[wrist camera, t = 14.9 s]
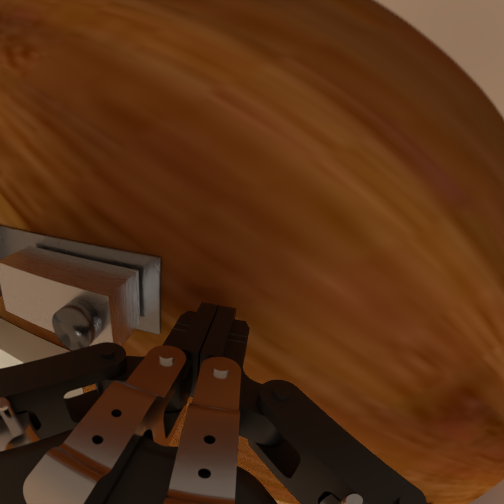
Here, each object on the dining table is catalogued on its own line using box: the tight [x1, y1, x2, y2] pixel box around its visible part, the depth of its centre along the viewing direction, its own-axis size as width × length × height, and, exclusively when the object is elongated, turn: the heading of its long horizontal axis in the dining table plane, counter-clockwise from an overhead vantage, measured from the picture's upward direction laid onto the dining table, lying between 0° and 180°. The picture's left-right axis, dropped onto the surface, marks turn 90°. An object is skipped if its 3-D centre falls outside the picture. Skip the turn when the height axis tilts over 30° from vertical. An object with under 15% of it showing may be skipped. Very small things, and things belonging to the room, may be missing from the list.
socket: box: [0, 318, 84, 398], centre depth 18 cm, size 14×14×3 cm
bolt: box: [0, 246, 140, 351], centre depth 12 cm, size 8×3×4 cm, turn 82°
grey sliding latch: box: [0, 225, 162, 335], centre depth 13 cm, size 18×7×4 cm, turn 82°
